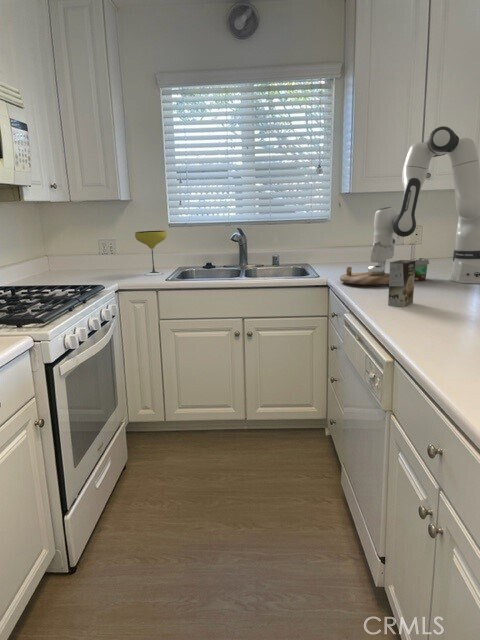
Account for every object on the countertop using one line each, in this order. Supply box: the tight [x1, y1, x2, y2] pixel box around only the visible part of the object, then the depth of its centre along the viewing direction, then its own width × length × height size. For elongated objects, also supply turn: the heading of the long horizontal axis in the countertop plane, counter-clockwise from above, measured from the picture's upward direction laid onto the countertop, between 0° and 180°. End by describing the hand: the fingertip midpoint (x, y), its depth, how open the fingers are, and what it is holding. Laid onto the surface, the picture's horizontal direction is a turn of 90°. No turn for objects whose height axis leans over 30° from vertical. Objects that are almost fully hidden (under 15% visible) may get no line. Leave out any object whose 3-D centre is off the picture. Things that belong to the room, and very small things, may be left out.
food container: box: [414, 257, 430, 282], centre depth 225 cm, size 12×6×10 cm, turn 143°
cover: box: [367, 264, 386, 276], centre depth 228 cm, size 8×8×4 cm
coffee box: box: [387, 259, 416, 308], centre depth 175 cm, size 9×6×16 cm
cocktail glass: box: [134, 230, 167, 273], centre depth 277 cm, size 18×18×25 cm
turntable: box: [339, 266, 390, 286], centre depth 223 cm, size 28×28×5 cm
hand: (381, 269), depth 233 cm, fingers closed
